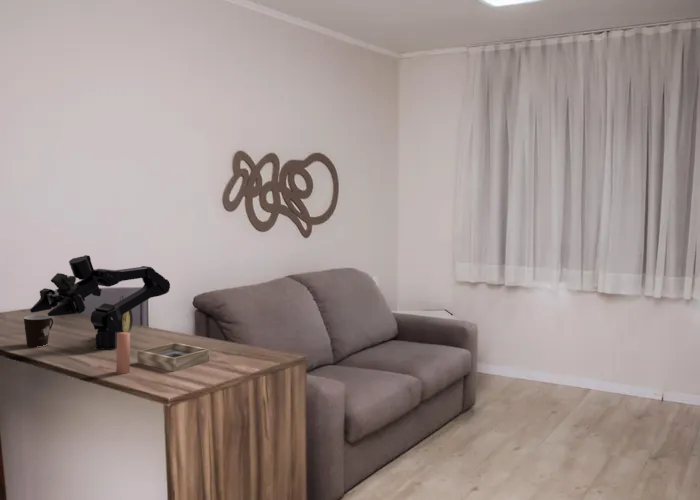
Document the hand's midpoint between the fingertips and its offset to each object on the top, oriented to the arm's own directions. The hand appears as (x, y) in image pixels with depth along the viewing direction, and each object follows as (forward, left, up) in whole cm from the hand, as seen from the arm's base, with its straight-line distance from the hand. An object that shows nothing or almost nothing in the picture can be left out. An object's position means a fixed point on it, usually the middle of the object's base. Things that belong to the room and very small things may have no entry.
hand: (39, 313), depth 197 cm
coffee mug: (+10, -22, -16) cm, 28 cm away
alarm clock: (-12, -38, -16) cm, 43 cm away
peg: (-29, +8, -16) cm, 34 cm away
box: (-41, -6, -15) cm, 44 cm away
